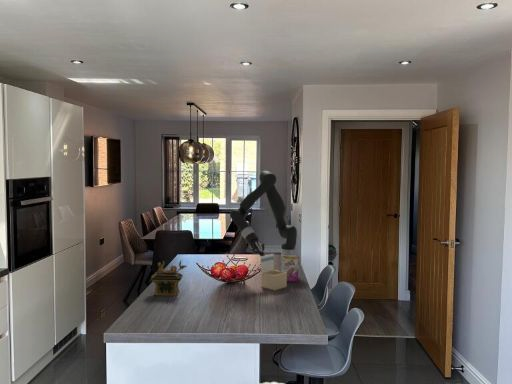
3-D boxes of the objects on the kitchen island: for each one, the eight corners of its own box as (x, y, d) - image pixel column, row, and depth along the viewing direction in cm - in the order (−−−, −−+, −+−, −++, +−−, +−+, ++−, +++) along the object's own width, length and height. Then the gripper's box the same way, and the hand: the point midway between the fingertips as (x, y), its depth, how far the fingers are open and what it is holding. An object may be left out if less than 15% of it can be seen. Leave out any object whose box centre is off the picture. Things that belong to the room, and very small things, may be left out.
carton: (273, 284, 295) (274, 269, 295) (286, 286, 289) (286, 272, 288) (261, 287, 286) (261, 272, 285) (274, 290, 279) (274, 275, 279)
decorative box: (150, 295, 263) (150, 260, 262) (153, 291, 273) (154, 257, 272) (186, 296, 263) (186, 261, 262) (188, 291, 273) (188, 258, 272)
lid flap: (273, 269, 295) (273, 269, 295) (273, 254, 294) (272, 253, 295) (261, 272, 286) (260, 272, 286) (261, 256, 285) (260, 256, 286)
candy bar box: (280, 281, 302) (281, 256, 301) (281, 279, 307) (281, 254, 306) (298, 282, 301) (298, 256, 300) (298, 280, 306) (299, 255, 305)
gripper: (245, 232, 292) (260, 255, 285) (259, 230, 302) (274, 252, 295) (239, 240, 296) (253, 262, 289) (253, 238, 306) (267, 259, 299)
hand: (264, 257), depth 292 cm, fingers closed
